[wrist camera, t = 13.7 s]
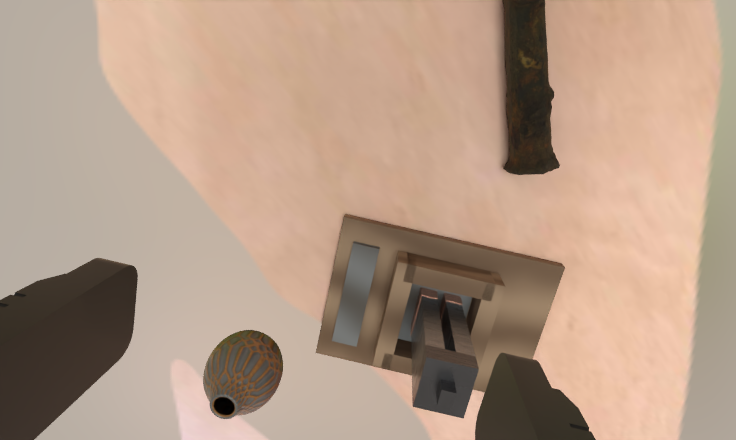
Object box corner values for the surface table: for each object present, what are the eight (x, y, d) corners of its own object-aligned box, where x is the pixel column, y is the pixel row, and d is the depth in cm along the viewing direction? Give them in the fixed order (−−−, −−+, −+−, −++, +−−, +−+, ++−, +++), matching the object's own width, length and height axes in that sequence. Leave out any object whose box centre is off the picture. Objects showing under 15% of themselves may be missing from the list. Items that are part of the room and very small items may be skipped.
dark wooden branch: (548, 167, 41) (566, 176, 36) (501, 170, 41) (513, 180, 36) (550, -80, 36) (571, -105, 31) (496, -73, 36) (509, -97, 32)
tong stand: (345, 214, 43) (339, 226, 39) (561, 263, 42) (576, 280, 39) (317, 347, 47) (309, 370, 43) (515, 393, 46) (525, 420, 42)
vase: (209, 350, 48) (166, 406, 39) (250, 306, 46) (215, 354, 38) (261, 392, 49) (230, 456, 40) (303, 350, 47) (281, 408, 38)
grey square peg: (420, 287, 43) (426, 366, 30) (460, 296, 43) (482, 379, 30) (410, 326, 44) (412, 418, 32) (449, 335, 44) (466, 431, 32)
